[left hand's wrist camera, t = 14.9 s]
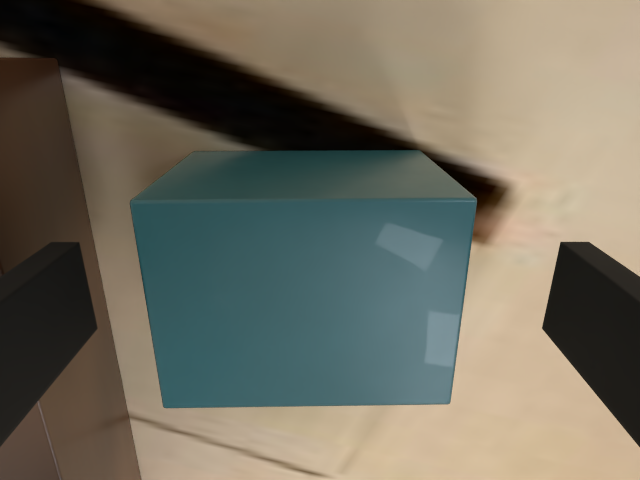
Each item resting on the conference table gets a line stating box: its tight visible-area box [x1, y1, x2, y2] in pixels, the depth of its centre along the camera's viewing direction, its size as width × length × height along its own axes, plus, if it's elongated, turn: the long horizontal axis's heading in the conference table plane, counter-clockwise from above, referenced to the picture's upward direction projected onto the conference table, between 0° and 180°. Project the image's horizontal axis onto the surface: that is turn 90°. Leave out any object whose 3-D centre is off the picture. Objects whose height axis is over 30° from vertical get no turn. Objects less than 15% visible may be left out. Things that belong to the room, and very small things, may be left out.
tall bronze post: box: [0, 58, 141, 480], centre depth 17 cm, size 28×6×5 cm, turn 0°
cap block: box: [130, 150, 477, 408], centre depth 14 cm, size 6×8×6 cm
